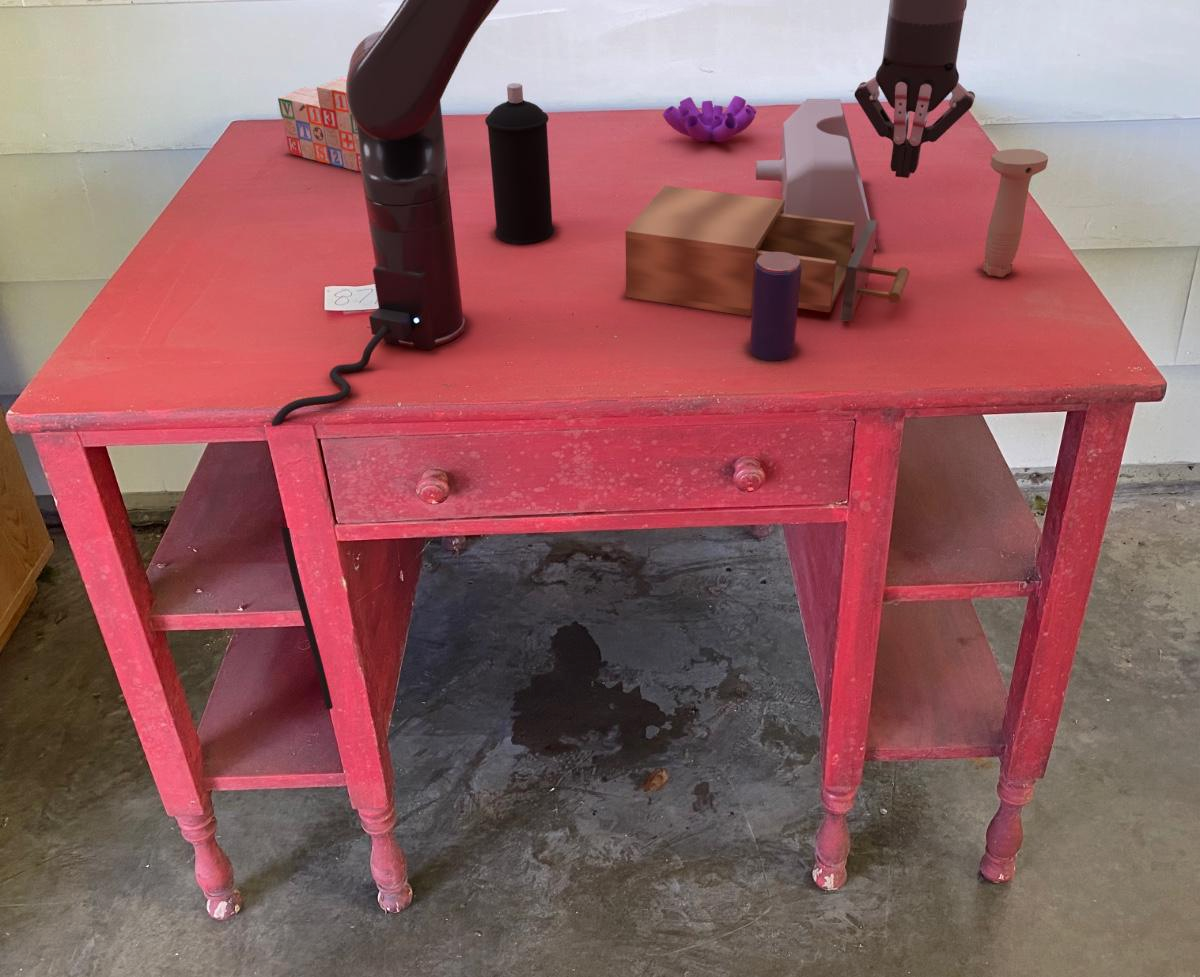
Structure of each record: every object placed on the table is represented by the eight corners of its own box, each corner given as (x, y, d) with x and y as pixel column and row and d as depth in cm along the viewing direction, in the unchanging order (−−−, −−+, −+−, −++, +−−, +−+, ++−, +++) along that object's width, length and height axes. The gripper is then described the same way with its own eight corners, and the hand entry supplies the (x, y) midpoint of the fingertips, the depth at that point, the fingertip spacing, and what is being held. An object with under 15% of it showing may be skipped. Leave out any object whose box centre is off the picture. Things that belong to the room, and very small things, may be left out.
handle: (1029, 278, 140) (1055, 161, 131) (981, 283, 139) (1004, 166, 130) (1010, 261, 143) (1035, 146, 134) (963, 267, 142) (985, 151, 133)
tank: (753, 179, 168) (758, 95, 160) (862, 181, 166) (872, 96, 159) (753, 251, 148) (759, 158, 140) (877, 253, 146) (889, 160, 139)
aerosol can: (546, 246, 150) (537, 96, 139) (487, 243, 152) (474, 94, 140) (560, 222, 157) (553, 76, 145) (504, 218, 158) (492, 74, 146)
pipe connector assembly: (754, 163, 182) (761, 128, 173) (662, 164, 182) (664, 130, 173) (752, 103, 185) (758, 66, 176) (661, 104, 186) (663, 67, 176)
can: (788, 364, 124) (796, 273, 118) (744, 357, 126) (750, 267, 119) (798, 343, 128) (806, 254, 121) (755, 336, 130) (761, 248, 123)
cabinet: (780, 264, 144) (785, 199, 139) (750, 316, 133) (754, 248, 128) (663, 248, 149) (664, 185, 144) (626, 297, 138) (625, 230, 133)
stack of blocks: (288, 155, 181) (272, 77, 174) (315, 143, 185) (301, 66, 178) (387, 179, 172) (375, 98, 164) (414, 166, 176) (404, 86, 168)
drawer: (911, 277, 138) (919, 225, 134) (893, 328, 128) (901, 273, 124) (757, 256, 144) (760, 206, 140) (728, 303, 134) (731, 250, 130)
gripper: (854, 16, 114) (837, 180, 124) (989, 25, 110) (960, 194, 120) (867, -2, 119) (850, 157, 129) (996, 6, 115) (968, 169, 126)
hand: (903, 174), depth 125 cm, fingers closed
